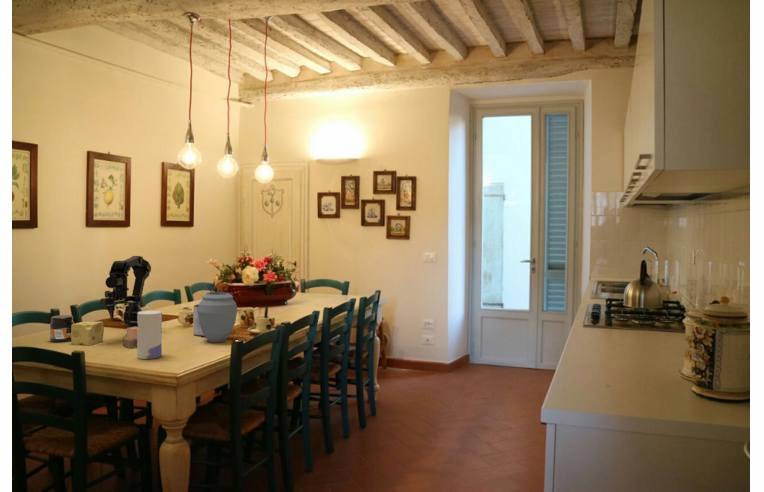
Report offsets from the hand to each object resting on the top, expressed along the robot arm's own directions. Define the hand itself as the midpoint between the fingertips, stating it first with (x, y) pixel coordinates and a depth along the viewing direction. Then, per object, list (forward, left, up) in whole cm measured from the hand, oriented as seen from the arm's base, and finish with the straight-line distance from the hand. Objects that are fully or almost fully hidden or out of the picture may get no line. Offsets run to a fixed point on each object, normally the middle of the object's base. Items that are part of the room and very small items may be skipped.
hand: (120, 317), depth 282 cm
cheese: (+12, -9, -12) cm, 19 cm away
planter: (-40, +17, -12) cm, 45 cm away
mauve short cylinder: (+2, +15, -12) cm, 20 cm away
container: (+10, +39, -12) cm, 42 cm away
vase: (-31, +35, -12) cm, 48 cm away
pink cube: (+2, +15, -8) cm, 17 cm away
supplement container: (+17, -23, -12) cm, 31 cm away
